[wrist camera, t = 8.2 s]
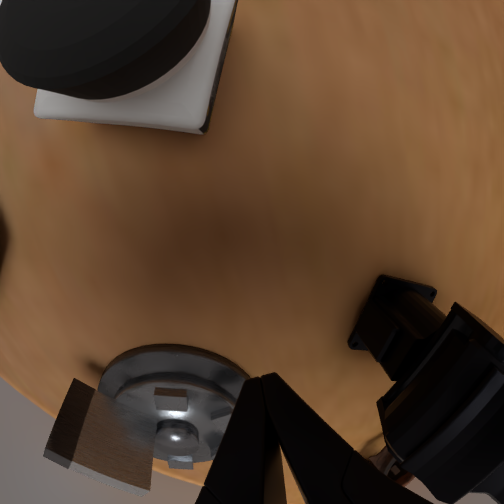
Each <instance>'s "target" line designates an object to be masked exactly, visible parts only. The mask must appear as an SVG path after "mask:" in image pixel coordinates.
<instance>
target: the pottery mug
mask: <svg viewBox="0 0 504 504" xmlns="http://www.w3.org/2000/svg"><path fill="white" fill-rule="evenodd" d="M369 459H370V460H371V461H372V462H373V463H371V464H372V465H373V466H374V467H376V468H377V469H378V470H379V471H381V472H382V473H384V474H385V475H386V476H388V477H389V478H391V479H392V480H394V481H395V482H397V483H399V484H400V485H402V486H404V487H405V486H406V485H407V484H408V483H409V482H410V481H412V480H413V478H414V477H415V476H414V475H413V474H412V473H410V472H408V471H406V470H405V469H403V468H402V467H401V466H400V463H399V462H398V461H397V460H396V459H395V458H394V457H393V456H392V455H391V454H390V453H389V452H388V450H387V446H385V447H384V448H383V449H382V450H381V452H380V453H378V454H377V455H375V456H371V457H369Z"/></svg>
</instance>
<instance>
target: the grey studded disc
mask: <svg viewBox="0 0 504 504" xmlns="http://www.w3.org/2000/svg"><path fill="white" fill-rule="evenodd" d="M236 401H237V399H236V398H235V397H234V396H233V395H232V394H231V393H229V392H228V391H227V390H226V389H224V388H222V387H221V386H219V385H217V384H215V383H213V382H211V381H208V380H205V379H203V378H199V377H196V376H192V375H186V374H180V373H151V374H145V375H141V376H138V377H135V378H133V379H131V380H129V381H127V382H126V383H124V384H123V385H122V386H121V387H120V388H119V389H118V390H117V392H116V394H115V396H114V399H113V398H111V397H108V396H106V395H105V394H103V393H101V392H99V391H97V390H95V389H94V388H92V387H90V386H88V385H86V384H85V383H83V382H81V381H79V380H77V379H76V378H74V379H73V381H72V383H71V386H70V388H69V390H68V392H67V395H66V397H65V399H64V402H63V404H62V406H61V409H60V411H59V413H58V416H57V418H56V421H55V423H54V426H53V429H52V431H51V434H50V436H49V439H48V442H47V445H46V447H45V451H44V455H43V456H44V457H46V458H48V459H49V460H51V461H53V462H56V463H57V464H59V465H61V466H63V467H65V468H67V469H71V470H73V471H75V472H78V473H80V474H82V475H84V476H87V477H89V478H91V479H94V480H96V481H99V482H101V483H104V484H106V485H109V486H112V487H114V488H117V489H120V490H123V491H126V492H129V493H132V494H135V495H138V496H141V497H142V496H144V495H145V494H146V493H148V492H149V491H150V486H151V474H152V464H153V457H154V458H157V459H161V460H165V461H168V465H169V468H175V469H193V463H196V462H205V461H210V460H213V459H214V457H215V455H216V452H217V450H218V447H219V445H220V442H221V440H222V437H223V435H224V432H225V430H226V427H227V425H228V422H229V420H230V417H231V414H232V412H233V409H234V407H235V404H236Z"/></svg>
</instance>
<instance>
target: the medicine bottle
mask: <svg viewBox="0 0 504 504" xmlns="http://www.w3.org/2000/svg"><path fill="white" fill-rule="evenodd" d="M237 2H238V0H2V3H1V5H0V62H1V64H2V66H3V67H4V69H5V70H6V71H7V73H8V74H9V75H10V76H11V77H12V78H14V79H15V80H16V81H18V82H20V83H22V84H24V85H26V86H29V87H33V88H37V89H38V90H37V95H36V100H35V105H34V114H35V116H36V117H38V118H41V119H56V120H68V121H79V122H89V123H100V124H114V125H127V126H137V127H147V128H156V129H164V130H172V131H180V132H187V133H194V134H200V135H202V134H205V133H207V132H208V130H209V125H210V120H211V116H212V111H213V106H214V102H215V97H216V93H217V89H218V84H219V80H220V76H221V72H222V67H223V63H224V59H225V55H226V51H227V48H228V44H229V40H230V36H231V32H232V28H233V23H234V18H235V12H236V7H237Z"/></svg>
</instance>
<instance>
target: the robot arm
mask: <svg viewBox="0 0 504 504" xmlns="http://www.w3.org/2000/svg"><path fill="white" fill-rule="evenodd" d="M384 280H385V282H384V283H383V284H382V282H383V281H384ZM431 292H432V293H431ZM436 294H437V290H436V289H435V288H434V287H432V286H428V285H424V284H420V283H416V282H412V281H408V280H404V279H400V278H396V277H392V276H388V275H381V276H380V277H379V278H378V279H377V282H376V284H375V286H374V288H373V291H372V293H371V295H370V297H369V299H368V302H367V303H366V306H365V308H364V310H363V312H362V314H361V316H360V318H359V320H358V322H357V324H356V326H355V329H354V331H353V333H352V334H351V336H350V338H349V340H348V346H349V347H350V349H354V350H366V351H369V352H370V353H371V355H372V356H373V357H374V359H375V360H376V362H379V363H380V365H381V366H382V368H383V369H384V371H385V372H386V374H387V375H388V376H389V378H390V379H391V381H396V383H395V384H394V385H393V386H392V387H391V388H390V389H389V391H388V392H387V393H386V394H385V395H384V396H382V397H381V398H380V399H379V400H378V401H377V402H376V403H377V408H378V412H379V416H380V421H381V425H382V430H383V435H384V440H385V443H386V446H387V450H388V452H389V453H390V454H391V455H392V456H393V457H394V458H395V459H396V460H397V461H398V462H399V463H400V466H401V467H402V468H403V469H405V470H406V471H408V472H410V473H412V474H413V475H414V476H415V477H417V478H418V479H419V480H420V481H421V482H422V483H423V484H424V485H425V486H426V487H427V488H428V489H429V491H430V492H431V493H432V494H433V495H434V497H435V498H436V499H437V500H439V501H442V502H445V503H448V504H454V503H455V502H457V501H458V500H460V499H461V498H462V497H464V496H465V495H466V494H467V493H485V494H487V495H489V496H490V497H491V498H492V499H493V500H495V501H496V502H497V503H498V504H504V339H503V338H502V337H501V336H500V335H499V334H497V333H496V332H495V331H494V330H493V329H492V328H490V327H489V326H488V325H487V324H486V323H484V322H483V321H482V320H481V319H479V318H478V317H476V316H475V315H474V314H472V313H471V312H470V311H468V310H467V309H465V308H464V307H462V306H461V305H460V304H458V303H457V302H454V304H453V306H452V307H451V311H450V312H449V314H448V315H447V316H446V315H444V314H443V313H442V312H441V311H440V310H439V309H438V308H437V307H435V306H434V305H433V304H432V302H433V300H434V298H435V296H436ZM354 342H355V343H354ZM353 343H354V344H353ZM280 446H281V449H282V452H283V454H284V456H285V459H286V461H287V463H288V466H289V468H290V470H291V472H292V475H293V477H294V479H295V481H296V484H297V486H298V488H299V490H300V492H301V495H302V497H303V499H304V501H305V503H306V504H433V503H432V502H430V501H428V500H426V499H424V498H423V497H421V496H419V495H417V494H415V493H414V492H412V491H410V490H409V489H407V488H405V487H404V486H402V485H400V484H399V483H397V482H395V481H394V480H392V479H391V478H389V477H388V476H386V475H385V474H384V473H382V472H381V471H379V470H378V469H377V468H376V467H374V466H373V465H372V464H371V463H370V462H368V461H367V460H366V459H365V458H364V457H363V456H361V455H360V454H359V453H358V452H357V451H356V450H354V449H353V448H352V447H351V446H350V445H349V444H348V443H347V442H346V441H345V440H344V439H343V438H342V437H341V436H340V435H339V434H337V433H336V432H335V431H334V430H333V429H332V428H331V427H330V426H329V425H328V424H327V423H326V422H325V421H324V420H323V419H322V418H321V417H320V416H319V415H318V414H317V413H316V412H315V411H314V410H313V409H312V408H311V407H310V406H309V405H308V404H307V403H306V402H305V401H304V400H303V399H302V398H301V397H300V396H299V395H298V394H297V393H296V392H295V391H294V390H293V389H292V388H291V387H290V386H289V385H288V384H287V383H286V382H285V381H284V380H283V379H282V378H281V377H280V376H279V375H278V374H277V373H275V372H273V373H269V374H265V375H262V376H261V378H260V377H254V378H250V379H246V380H245V381H244V383H243V385H242V388H241V391H240V393H239V396H238V399H237V401H236V404H235V407H234V409H233V412H232V414H231V417H230V420H229V422H228V425H227V427H226V430H225V432H224V435H223V437H222V440H221V442H220V445H219V447H218V450H217V452H216V455H215V457H214V460H213V462H212V465H211V467H210V470H209V472H208V475H207V477H206V479H205V482H204V485H205V486H206V487H205V486H203V487H202V489H201V491H200V493H199V496H198V498H197V500H196V502H195V504H287V500H286V491H285V483H284V474H283V465H282V456H281V449H280Z"/></svg>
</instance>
